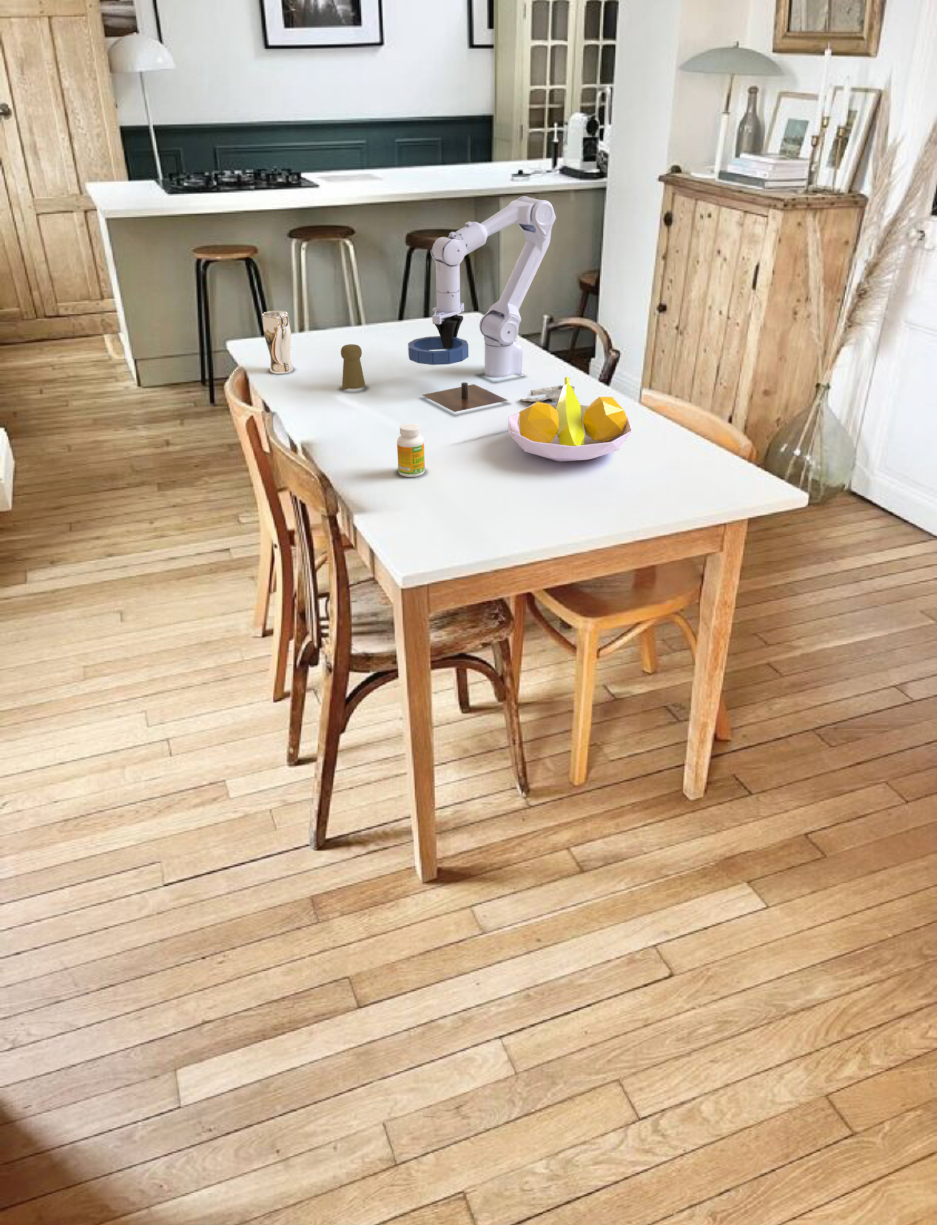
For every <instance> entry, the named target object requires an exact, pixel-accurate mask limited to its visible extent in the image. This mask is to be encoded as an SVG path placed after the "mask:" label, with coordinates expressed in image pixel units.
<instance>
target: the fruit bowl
mask: <svg viewBox="0 0 937 1225" xmlns="http://www.w3.org/2000/svg"><path fill="white" fill-rule="evenodd" d="M563 386H564V387H563V389H562V392H561V395H560V398H559V401H558V402H557V403H554V404H550V403H546V402H538V401H537V402H535V401H534V402H533V403H532V404H530V405H529V406H526V407H525V408H524V409H522V410H520V411H517V412H516V413H514V414H512V415H510V416H508V417H507V418H508V419H507V431H508V433H509V435H510V437H511V438H512V440H513V441H514V442H515V443H516V444H517V446H519V447H520V448H521V449H522V450H523V451H524V452H525V453H529V454H531V455H536V456H538V457H541V458H545V459H549V460H552V461H555V462H559V463H562V462H574V461H586V460H592V459H596V458H600V457H603V456H606V455H608V454H611V453H614V452H617V451H620V449H621V448H622V446H623V445H624V444H625V443H626V441H627V440H628V438H629V437H630V436H631V435H632V433H634V430H633V426H632V423H631V419H630V417H628V416H627V415H626V412H625V410H624V408H623V407H622V406H621V405H620V403H618V402H617V401H616V400H615V398H614V397H613V396H598V397H597V398H595V399H594V400H593V401H592V402H591V403H590V404H589V405H588V404H587V405H586V404H581V403H580V401H579V399H578V397H577V395H576V393H575V390H574V391H573V389H572V387H573V385H571V382H570V376H565V377H564V385H563Z"/></svg>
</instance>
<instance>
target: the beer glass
mask: <svg viewBox="0 0 937 1225" xmlns="http://www.w3.org/2000/svg"><path fill="white" fill-rule="evenodd" d="M289 317H290V316H289V312H288V311H286V310H269V311H265V312H263V313H262V326H263V328H262V329H263V336H264V340H265V344H266V347H267V351H268V355H269V363H270V364H269V372H270V373H272V374H274V375H276V374H277V375H282V374H283V375H285V374H289V373H291V372H293V370H294V368H293V363H292V360H291V343H292V329H291V322H290V318H289Z"/></svg>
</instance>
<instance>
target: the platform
mask: <svg viewBox="0 0 937 1225" xmlns="http://www.w3.org/2000/svg"><path fill="white" fill-rule="evenodd" d="M422 396H423V397H425V398H427V399H428V400H431V401H432V402H435V403H436V404H438V405H440V406H442V407H444V408H446V409H447V410H450V411H452V412H454V413H457V412H462V411H465V410H470V409H475V408H480V407H484V406H488V405H493V404H498V403H502V402H507V401H508V399H506V398H505V397H502V396H500V395H498V394H497V393H494V392H491V391H489V390H488V389H485V388H484V387H481V386H479V385H477V384H475V383H474V384H473V383H472V384H469V383H468V382H465V381H463V382H461V383H460V386H459V387H458V386H457V387H453V388H448V389H443V390H439V391H433V392H429V393H423V394H422Z"/></svg>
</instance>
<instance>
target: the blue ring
mask: <svg viewBox="0 0 937 1225" xmlns="http://www.w3.org/2000/svg"><path fill="white" fill-rule="evenodd" d="M407 356H408V360H409V361H412V362H413V363H416V364H420V365H421V364H422V365H430V366H431V365H432V366H440V365H441V366H443V365H452V364H457V363H460V362H461V363H462V362H463V361H465V360H466V359H468V358H469V343H468V341H467V340H466V339H463V338H460V337H458V336H457V337H453V344H452V348H451V349H449V348H443V345H442V341H441V337H440V335H436V336H435V335H433V336H425V337H419V338H415V339H412V340H411V341H409V342H408V343H407Z"/></svg>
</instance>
